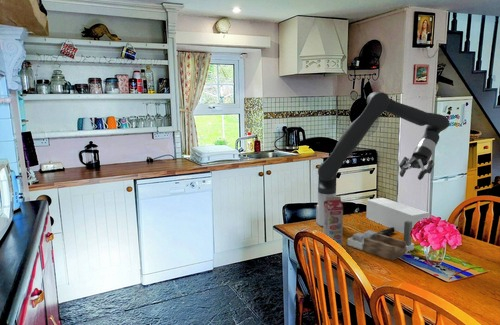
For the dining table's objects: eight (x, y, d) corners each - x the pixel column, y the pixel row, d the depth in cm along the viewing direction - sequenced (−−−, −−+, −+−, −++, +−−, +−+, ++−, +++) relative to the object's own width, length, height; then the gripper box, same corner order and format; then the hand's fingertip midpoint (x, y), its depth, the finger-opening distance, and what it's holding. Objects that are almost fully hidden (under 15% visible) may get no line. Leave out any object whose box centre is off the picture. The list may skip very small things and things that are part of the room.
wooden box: (363, 250, 155) (364, 238, 155) (376, 245, 161) (377, 233, 161) (392, 260, 145) (393, 247, 144) (405, 254, 151) (406, 241, 150)
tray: (347, 245, 162) (347, 238, 161) (360, 239, 168) (360, 233, 168) (362, 250, 156) (362, 243, 155) (375, 244, 162) (376, 238, 161)
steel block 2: (363, 240, 158) (363, 232, 158) (368, 238, 161) (369, 230, 160) (371, 243, 155) (372, 234, 155) (376, 241, 158) (377, 232, 157)
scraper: (399, 250, 155) (401, 222, 153) (407, 247, 159) (408, 219, 157) (406, 252, 153) (407, 224, 151) (413, 249, 156) (415, 221, 154)
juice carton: (323, 241, 166) (323, 195, 163) (337, 241, 167) (338, 194, 164) (327, 247, 160) (328, 198, 156) (342, 246, 160) (343, 198, 157)
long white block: (366, 218, 200) (366, 199, 198) (381, 216, 204) (382, 197, 202) (410, 237, 171) (412, 215, 169) (428, 234, 174) (429, 212, 173)
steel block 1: (360, 245, 160) (353, 243, 163) (366, 243, 162) (358, 240, 165) (361, 236, 159) (353, 234, 162) (366, 234, 162) (358, 232, 165)
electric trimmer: (396, 234, 176) (397, 227, 176) (377, 241, 167) (378, 234, 166) (389, 232, 179) (390, 225, 179) (370, 238, 170) (371, 232, 169)
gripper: (407, 144, 174) (392, 170, 169) (437, 146, 163) (422, 174, 158) (412, 154, 178) (398, 179, 173) (441, 157, 167) (427, 184, 162)
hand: (409, 177), depth 165 cm, fingers open, 8 cm apart
